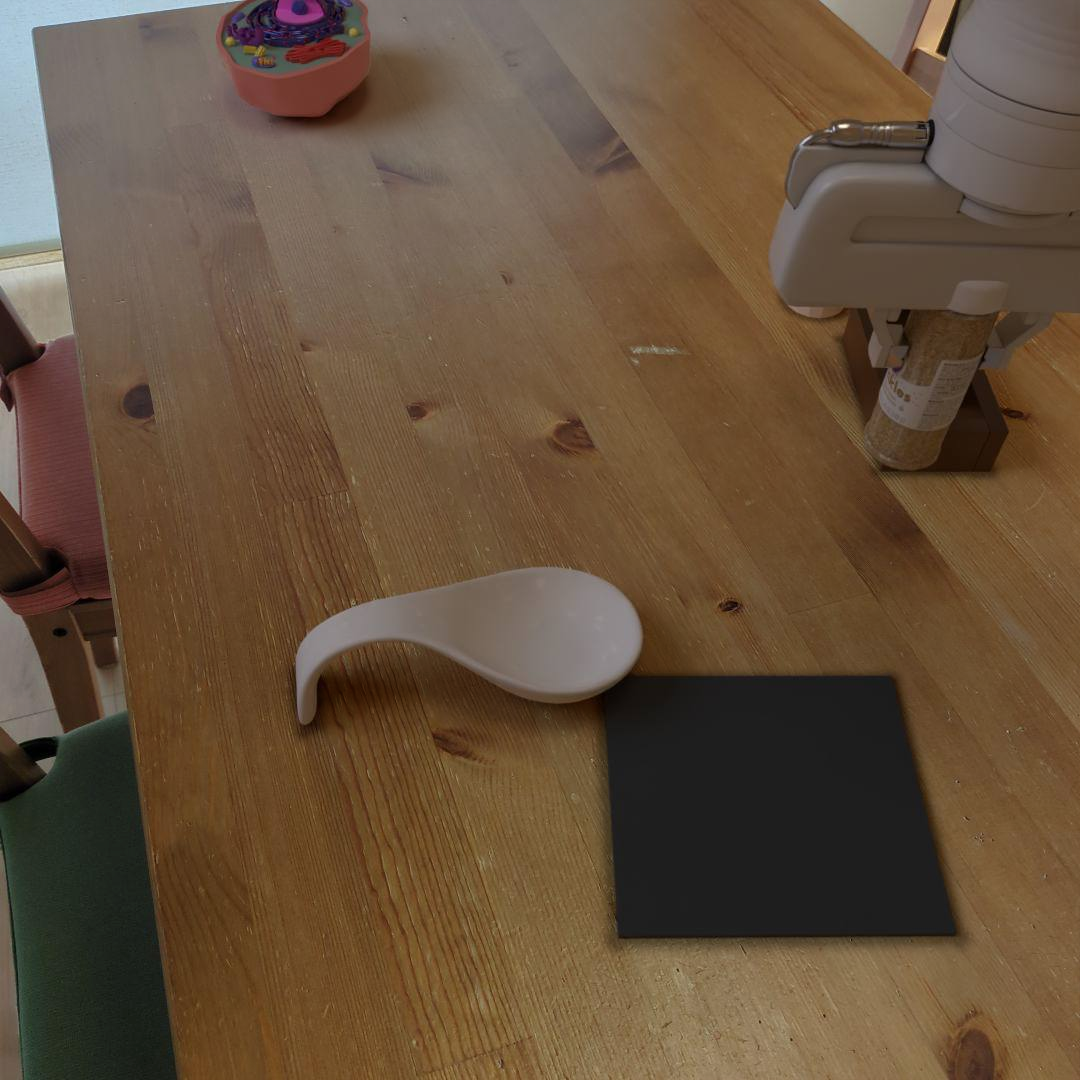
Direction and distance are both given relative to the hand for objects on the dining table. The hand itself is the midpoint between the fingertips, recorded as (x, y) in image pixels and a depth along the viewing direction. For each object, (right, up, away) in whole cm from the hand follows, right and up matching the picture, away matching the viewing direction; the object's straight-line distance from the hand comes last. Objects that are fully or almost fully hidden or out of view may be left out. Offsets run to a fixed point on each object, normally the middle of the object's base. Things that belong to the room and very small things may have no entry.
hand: (935, 361), depth 60 cm
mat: (-7, -26, +11) cm, 30 cm away
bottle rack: (+11, +2, +35) cm, 37 cm away
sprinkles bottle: (0, -4, +5) cm, 7 cm away
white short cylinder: (+4, +13, +44) cm, 46 cm away
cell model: (-48, +40, +66) cm, 91 cm away
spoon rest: (-26, -19, +17) cm, 36 cm away
